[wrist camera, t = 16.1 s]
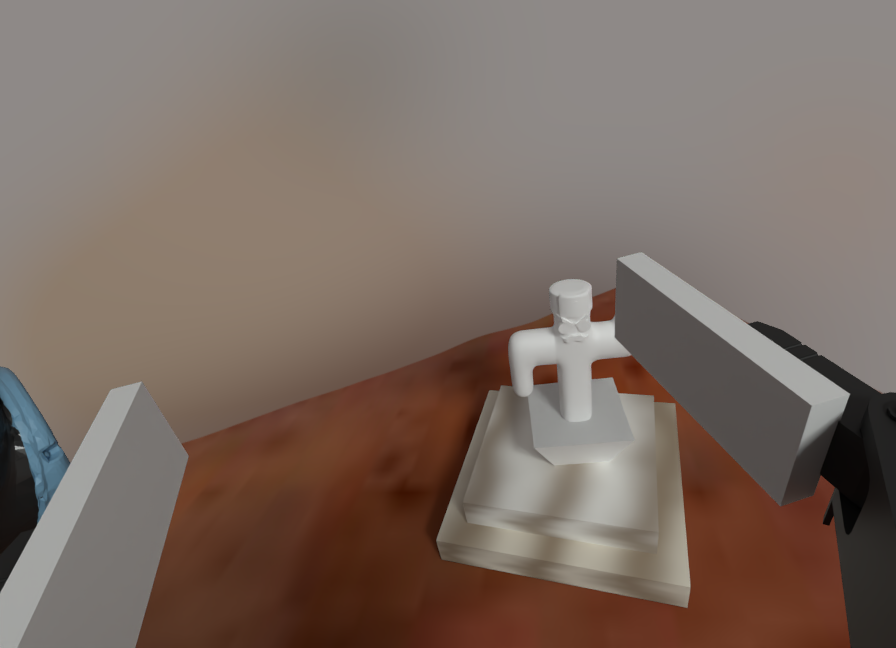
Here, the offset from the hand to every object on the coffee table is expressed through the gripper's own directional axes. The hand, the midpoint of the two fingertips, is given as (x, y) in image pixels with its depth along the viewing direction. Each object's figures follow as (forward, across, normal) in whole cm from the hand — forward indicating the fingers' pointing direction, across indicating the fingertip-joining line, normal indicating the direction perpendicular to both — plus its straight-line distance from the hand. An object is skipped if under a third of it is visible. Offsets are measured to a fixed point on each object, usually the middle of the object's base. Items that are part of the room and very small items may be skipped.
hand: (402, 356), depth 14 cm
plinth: (+16, +12, -29) cm, 35 cm away
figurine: (+16, +12, -24) cm, 32 cm away
